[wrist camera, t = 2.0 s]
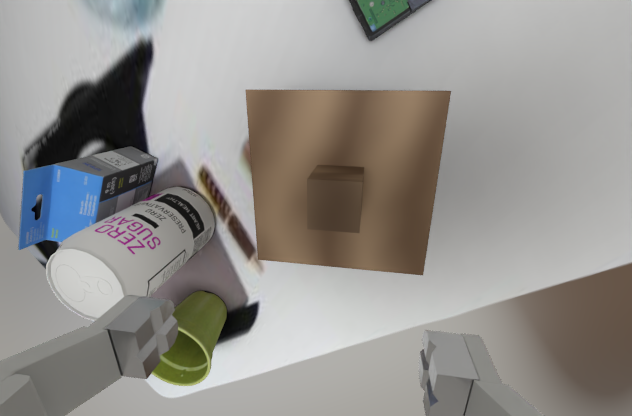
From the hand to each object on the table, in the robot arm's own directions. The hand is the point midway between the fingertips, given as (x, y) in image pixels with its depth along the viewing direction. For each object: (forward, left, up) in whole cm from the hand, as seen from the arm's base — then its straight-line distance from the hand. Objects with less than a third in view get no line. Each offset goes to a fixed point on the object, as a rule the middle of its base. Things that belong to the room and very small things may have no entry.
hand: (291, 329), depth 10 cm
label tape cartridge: (+26, +4, -25) cm, 36 cm away
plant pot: (+19, +22, -25) cm, 38 cm away
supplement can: (+20, +8, -25) cm, 33 cm away
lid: (0, 0, -16) cm, 16 cm away
